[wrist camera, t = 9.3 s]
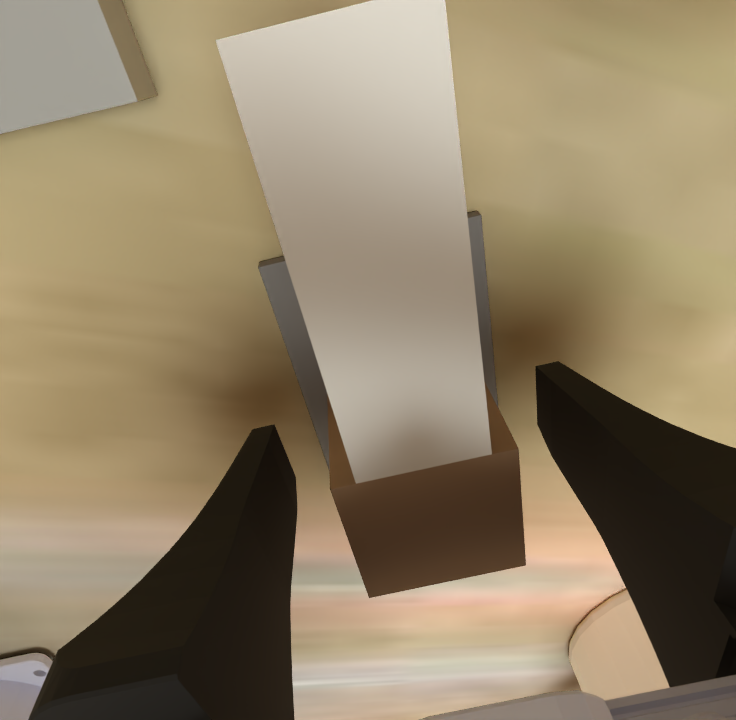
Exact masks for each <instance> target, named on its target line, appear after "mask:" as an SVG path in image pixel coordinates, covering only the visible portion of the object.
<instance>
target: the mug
mask: <svg viewBox="0 0 736 720" xmlns="http://www.w3.org/2000/svg"><path fill="white" fill-rule="evenodd" d="M569 661H570V663H571V666H572V668H573V671H574V673H575V675H576V678H577V680H578V683H579V685H580V688H581V690H582V692H586V693H590V694H593V695H596V696H598V697H600V698H602V699H604V700H609V699H615V698H620V697H625V696H630V695H635V694H640V693H645V692H650V691H655V690H660V689H665V688H670V687H669V684H668V682H667V679H666V677H665V675H664V672H663V670H662V667H661V665H660V663H659V660H658V658H657V655H656V653H655V651H654V648H653V646H652V644H651V642H650V639H649V637H648V635H647V633H646V630H645V628H644V626H643V624H642V621H641V619H640V617H639V614H638V612H637V610H636V608H635V606H634V603H633V601H632V599H631V597H630V595H629V593H628V591H627V589H626V590H624V591H622V592H620V593H618V594H616V595H614V596H612V597H610V598H609V599H608V600H606V601H605V602H604V603H602V604H601V605H599V606H598V607H597V608H595V609H594V610H592V611H591V612H590V613H589V614H588V615H587V617H586V618H585V619H584V620H583V621H582V622H581V623H580V624H579V625H578V626H577V628H576V630H575V632H574V634H573V636H572V638H571V641H570V645H569Z"/></svg>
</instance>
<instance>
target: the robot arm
mask: <svg viewBox="0 0 736 720" xmlns="http://www.w3.org/2000/svg"><path fill="white" fill-rule="evenodd" d="M536 395H537V424H538V427H539V429H540V431H541V433H542V436H543V438H544V440H545V443H546V445H547V447H548V449H549V451H550V453H551V455H552V457H553V459H554V460H555V462H556V464H557V465H558V467H559V469H560V470H561V472H562V473H563V475H564V477H565V478H566V480H567V482H568V483H569V485H570V486H571V488H572V489H573V491H574V493H575V494H576V496H577V497H578V499H579V501H580V502H581V504H582V505H583V507H584V509H585V510H586V512H587V513H588V515H589V517H590V518H591V520H592V521H593V523H594V525H595V526H596V528H597V530H598V532H599V533H600V535H601V537H602V539H603V541H604V543H605V545H606V547H607V549H608V551H609V553H610V555H611V557H612V559H613V561H614V563H615V565H616V567H617V569H618V571H619V573H620V576H621V578H622V580H623V582H624V584H625V586H626V588H627V591H628V593H629V595H630V597H631V599H632V601H633V603H634V606H635V608H636V610H637V612H638V614H639V617H640V619H641V621H642V624H643V626H644V628H645V630H646V633H647V635H648V637H649V639H650V642H651V644H652V646H653V648H654V651H655V653H656V655H657V658H658V660H659V663H660V665H661V667H662V670H663V672H664V675H665V677H666V679H667V682H668V684H669V687H670V688H665V689H660V690H655V691H650V692H645V693H640V694H635V695H630V696H625V697H620V698H615V699H609V700H604V699H602V698H600V697H598V696H596V695H593V694H590V693H586V692H582V691H579V690H573V691H559V692H550V693H545V694H540V695H535V696H530V697H524V698H519V699H514V700H509V701H504V702H499V703H494V704H489V705H484V706H479V707H474V708H469V709H464V710H459V711H454V712H449V713H444V714H439V715H434V716H429V717H426V718H423V719H420V720H736V448H733V447H730V446H727V445H724V444H721V443H718V442H715V441H712V440H710V439H707V438H704V437H702V436H699V435H697V434H694V433H692V432H689V431H687V430H684V429H682V428H680V427H677V426H675V425H672V424H670V423H668V422H666V421H664V420H661V419H659V418H657V417H655V416H653V415H651V414H649V413H647V412H645V411H643V410H641V409H639V408H637V407H635V406H633V405H632V404H630V403H628V402H626V401H624V400H622V399H620V398H619V397H617V396H615V395H613V394H612V393H610V392H608V391H606V390H605V389H603V388H601V387H600V386H598V385H596V384H595V383H593V382H591V381H590V380H588V379H586V378H585V377H583V376H582V375H580V374H578V373H577V372H575V371H573V370H572V369H570V368H569V367H567V366H565V365H564V364H562V363H560V362H559V361H557V362H553V363H548V364H544V365H539V366H536ZM296 521H297V492H296V477H295V474H294V472H293V469H292V467H291V464H290V462H289V459H288V457H287V454H286V452H285V450H284V447H283V445H282V442H281V440H280V437H279V435H278V432H277V430H276V427H275V425H270V426H265V427H261V428H256V429H253V430H252V431H251V433H250V434H249V436H248V438H247V439H246V441H245V443H244V444H243V446H242V448H241V450H240V451H239V453H238V455H237V456H236V458H235V460H234V461H233V463H232V465H231V466H230V468H229V470H228V471H227V473H226V474H225V476H224V478H223V479H222V481H221V482H220V484H219V486H218V487H217V489H216V490H215V492H214V493H213V495H212V496H211V498H210V499H209V500H208V502H207V503H206V505H205V506H204V508H203V509H202V510H201V512H200V513H199V515H198V516H197V517H196V519H195V520H194V521H193V523H192V524H191V525H190V526H189V528H188V529H187V530H186V531H185V533H184V534H183V535H182V536H181V537H180V539H179V540H178V541H177V542H176V543H175V545H174V546H173V547H172V548H171V549H170V550H169V551H168V552H167V553H166V554H165V556H164V557H163V558H162V559H161V560H160V561H159V562H158V563H157V564H156V565H155V566H154V567H153V568H152V569H151V570H150V571H149V572H148V573H147V574H146V575H145V577H144V578H143V579H142V580H141V581H140V582H138V583H137V584H136V585H135V586H134V587H133V588H132V589H131V590H130V591H129V592H128V593H127V594H126V595H125V596H124V597H122V598H121V599H120V600H119V601H118V602H117V603H116V604H115V605H114V606H112V607H111V608H110V609H109V610H108V611H107V612H106V613H104V614H103V615H102V616H101V617H100V618H99V619H97V620H96V621H95V622H94V623H92V624H91V625H90V626H89V627H87V628H86V629H85V630H84V631H82V632H81V633H80V634H79V635H77V636H76V637H75V638H74V639H72V640H71V641H70V642H69V643H67V644H66V645H65V646H63V647H62V648H61V649H59V650H58V652H57V654H56V656H55V658H54V660H53V661H52V660H51V659H50V658H49V657H48V656H46V655H45V654H42V653H30V654H25V655H20V656H15V657H11V658H6V659H1V660H0V720H294V705H293V685H292V660H291V621H290V597H291V580H292V569H293V557H294V546H295V534H296Z"/></svg>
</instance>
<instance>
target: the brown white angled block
mask: <svg viewBox="0 0 736 720" xmlns="http://www.w3.org/2000/svg"><path fill="white" fill-rule="evenodd" d="M216 43H217V46H218V50H219V53H220V56H221V59H222V62H223V65H224V68H225V72H226V75H227V78H228V81H229V84H230V87H231V91H232V94H233V97H234V100H235V103H236V106H237V110H238V113H239V116H240V119H241V122H242V125H243V128H244V132H245V135H246V138H247V141H248V144H249V147H250V151H251V154H252V157H253V160H254V163H255V166H256V170H257V173H258V176H259V179H260V182H261V185H262V188H263V192H264V195H265V198H266V201H267V204H268V207H269V211H270V214H271V217H272V220H273V223H274V226H275V230H276V233H277V236H278V239H279V242H280V245H281V248H282V252H283V255H284V258H285V261H286V264H287V267H288V271H289V274H290V277H291V280H292V283H293V286H294V290H295V293H296V296H297V299H298V302H299V305H300V308H301V312H302V315H303V318H304V321H305V324H306V327H307V331H308V334H309V337H310V340H311V343H312V346H313V349H314V353H315V356H316V359H317V362H318V365H319V368H320V372H321V375H322V378H323V381H324V384H325V387H326V391H327V405H328V436H329V468H330V490H331V493H332V496H333V499H334V501H335V504H336V507H337V510H338V512H339V515H340V518H341V521H342V524H343V526H344V529H345V532H346V535H347V537H348V540H349V543H350V546H351V549H352V551H353V554H354V557H355V560H356V563H357V565H358V568H359V571H360V574H361V576H362V579H363V582H364V585H365V588H366V590H367V593H368V596H369V598H371V597H376V596H381V595H385V594H390V593H395V592H400V591H405V590H410V589H414V588H419V587H424V586H429V585H434V584H438V583H443V582H448V581H453V580H458V579H462V578H467V577H472V576H477V575H482V574H486V573H491V572H496V571H501V570H506V569H510V568H515V567H520V566H525V565H526V560H525V544H524V528H523V513H522V497H521V481H520V466H519V450H518V447H517V445H516V443H515V441H514V439H513V437H512V435H511V433H510V431H509V429H508V427H507V425H506V423H505V421H504V419H503V417H502V415H501V413H500V411H499V409H498V407H497V405H496V403H495V401H494V399H493V397H492V395H491V393H490V391H489V389H488V387H487V385H486V383H485V381H484V372H483V363H482V353H481V343H480V334H479V324H478V314H477V305H476V295H475V285H474V276H473V266H472V256H471V247H470V237H469V227H468V217H467V208H466V198H465V188H464V179H463V169H462V159H461V150H460V140H459V130H458V121H457V111H456V101H455V92H454V82H453V72H452V62H451V53H450V43H449V33H448V24H447V14H446V4H445V0H372V1H368V2H364V3H360V4H356V5H352V6H348V7H344V8H340V9H336V10H332V11H328V12H324V13H320V14H317V15H313V16H309V17H305V18H301V19H297V20H293V21H289V22H285V23H281V24H277V25H273V26H269V27H265V28H261V29H257V30H253V31H249V32H245V33H241V34H238V35H234V36H230V37H226V38H222V39H218V40H216Z"/></svg>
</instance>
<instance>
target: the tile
mask: <svg viewBox="0 0 736 720" xmlns="http://www.w3.org/2000/svg"><path fill="white" fill-rule="evenodd" d="M157 95H158V94H157V91H156V89H155V86H154V83H153V81H152V78H151V76H150V73H149V70H148V68H147V65H146V62H145V60H144V57H143V54H142V52H141V49H140V46H139V44H138V41H137V39H136V36H135V33H134V31H133V28H132V25H131V23H130V20H129V17H128V15H127V12H126V9H125V7H124V4H123V1H122V0H0V134H1V133H6V132H10V131H14V130H18V129H23V128H27V127H31V126H35V125H40V124H44V123H48V122H52V121H57V120H61V119H65V118H69V117H74V116H78V115H82V114H86V113H91V112H95V111H99V110H103V109H108V108H112V107H116V106H120V105H125V104H129V103H133V102H137V101H141V100H144V99H147V98H151V97H154V96H157Z"/></svg>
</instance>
